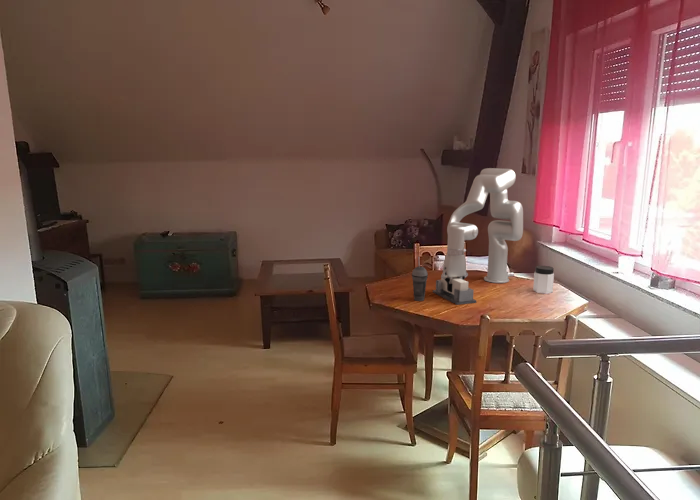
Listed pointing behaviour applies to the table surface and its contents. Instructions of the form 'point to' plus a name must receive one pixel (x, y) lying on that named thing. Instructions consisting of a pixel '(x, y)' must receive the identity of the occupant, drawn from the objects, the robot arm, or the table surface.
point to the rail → (455, 284)
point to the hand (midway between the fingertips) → (454, 290)
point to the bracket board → (455, 294)
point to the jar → (543, 279)
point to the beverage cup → (419, 282)
